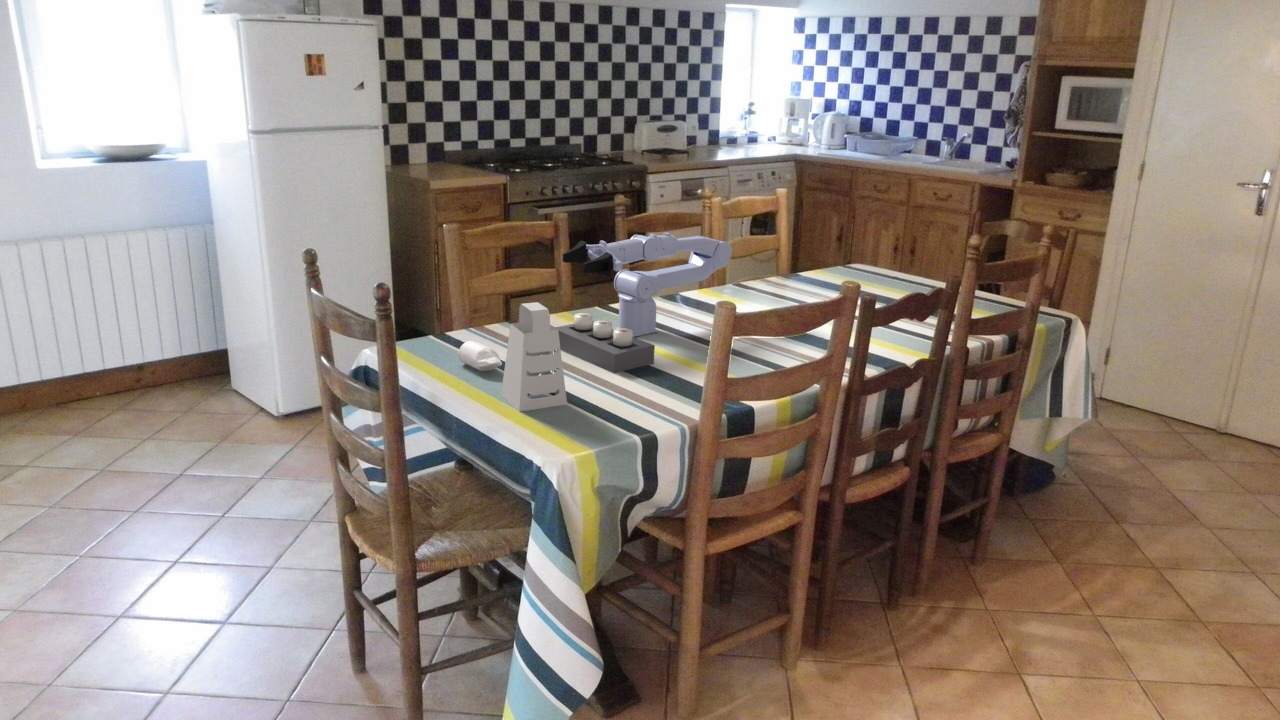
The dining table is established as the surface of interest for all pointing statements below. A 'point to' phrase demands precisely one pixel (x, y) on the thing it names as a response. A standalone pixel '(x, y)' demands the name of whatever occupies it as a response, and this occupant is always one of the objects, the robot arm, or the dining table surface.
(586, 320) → the button
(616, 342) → the button
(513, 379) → the grater
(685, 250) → the robot arm
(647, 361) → the mount
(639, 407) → the dining table surface
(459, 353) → the roll
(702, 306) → the dining table surface
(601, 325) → the button middle
